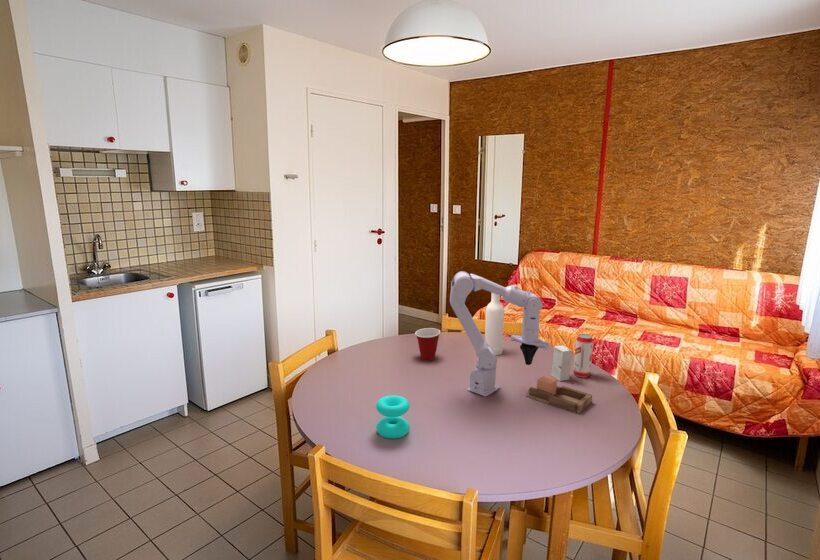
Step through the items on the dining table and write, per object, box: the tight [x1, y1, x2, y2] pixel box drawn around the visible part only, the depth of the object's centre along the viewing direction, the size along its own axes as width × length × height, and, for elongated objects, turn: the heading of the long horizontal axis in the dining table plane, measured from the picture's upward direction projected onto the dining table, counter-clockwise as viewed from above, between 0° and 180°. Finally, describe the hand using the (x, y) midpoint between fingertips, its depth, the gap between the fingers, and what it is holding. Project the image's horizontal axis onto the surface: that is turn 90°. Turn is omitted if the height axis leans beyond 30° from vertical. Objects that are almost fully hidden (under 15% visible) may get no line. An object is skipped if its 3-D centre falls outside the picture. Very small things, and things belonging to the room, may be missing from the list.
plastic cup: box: [414, 327, 441, 361], centre depth 200 cm, size 11×11×12 cm
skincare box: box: [551, 344, 573, 382], centre depth 181 cm, size 6×4×12 cm
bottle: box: [484, 292, 505, 356], centre depth 205 cm, size 8×8×30 cm
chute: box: [525, 385, 593, 415], centre depth 164 cm, size 11×19×3 cm, turn 48°
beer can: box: [573, 333, 594, 379], centre depth 183 cm, size 6×6×16 cm
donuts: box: [375, 394, 410, 439], centre depth 142 cm, size 10×10×10 cm
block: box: [536, 375, 558, 396], centre depth 166 cm, size 5×5×6 cm
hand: (528, 363), depth 170 cm, fingers closed
